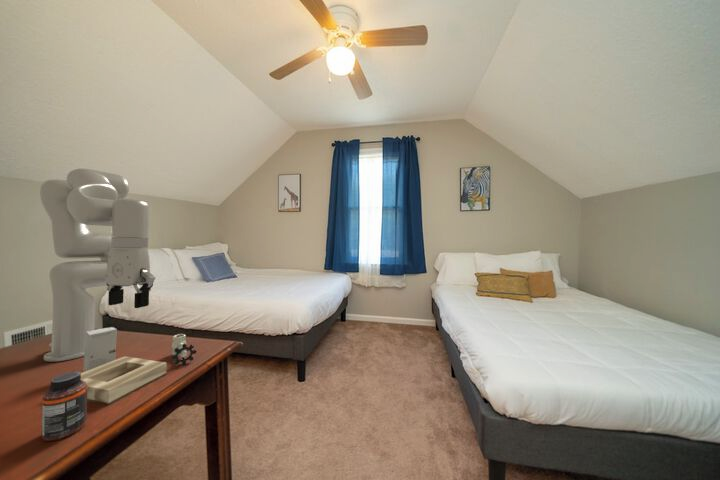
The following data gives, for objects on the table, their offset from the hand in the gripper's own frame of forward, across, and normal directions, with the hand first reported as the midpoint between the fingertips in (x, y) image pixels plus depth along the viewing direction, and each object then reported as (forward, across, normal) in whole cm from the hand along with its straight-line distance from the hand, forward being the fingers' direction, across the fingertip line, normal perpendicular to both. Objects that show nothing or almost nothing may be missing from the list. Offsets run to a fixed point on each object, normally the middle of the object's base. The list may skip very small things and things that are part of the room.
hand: (128, 305), depth 68 cm
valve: (+22, +1, +15) cm, 26 cm away
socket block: (+21, -2, -1) cm, 21 cm away
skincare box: (+21, -15, +2) cm, 26 cm away
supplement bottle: (+22, +8, -16) cm, 28 cm away
